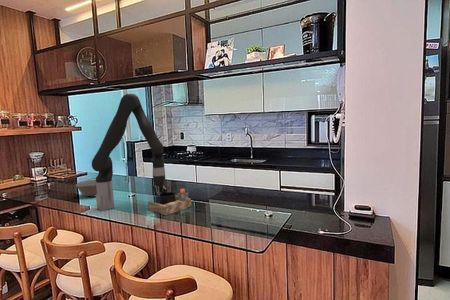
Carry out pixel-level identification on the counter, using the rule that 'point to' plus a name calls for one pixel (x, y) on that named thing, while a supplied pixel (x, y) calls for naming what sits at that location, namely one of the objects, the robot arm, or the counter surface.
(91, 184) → the ceramic bowl
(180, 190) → the button
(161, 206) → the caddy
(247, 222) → the counter surface
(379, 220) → the counter surface
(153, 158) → the robot arm
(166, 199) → the mug
